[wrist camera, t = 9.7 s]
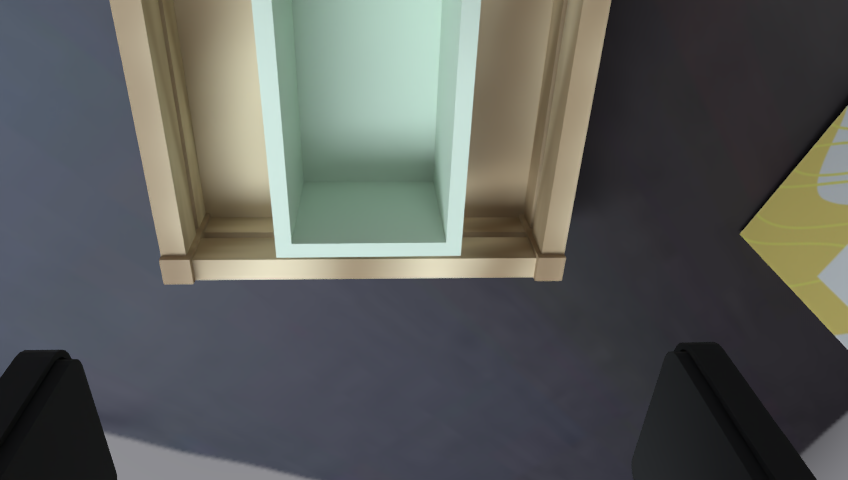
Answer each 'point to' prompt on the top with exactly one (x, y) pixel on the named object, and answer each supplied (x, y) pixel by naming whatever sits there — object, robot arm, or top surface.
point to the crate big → (246, 152)
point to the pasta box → (811, 229)
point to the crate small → (367, 123)
